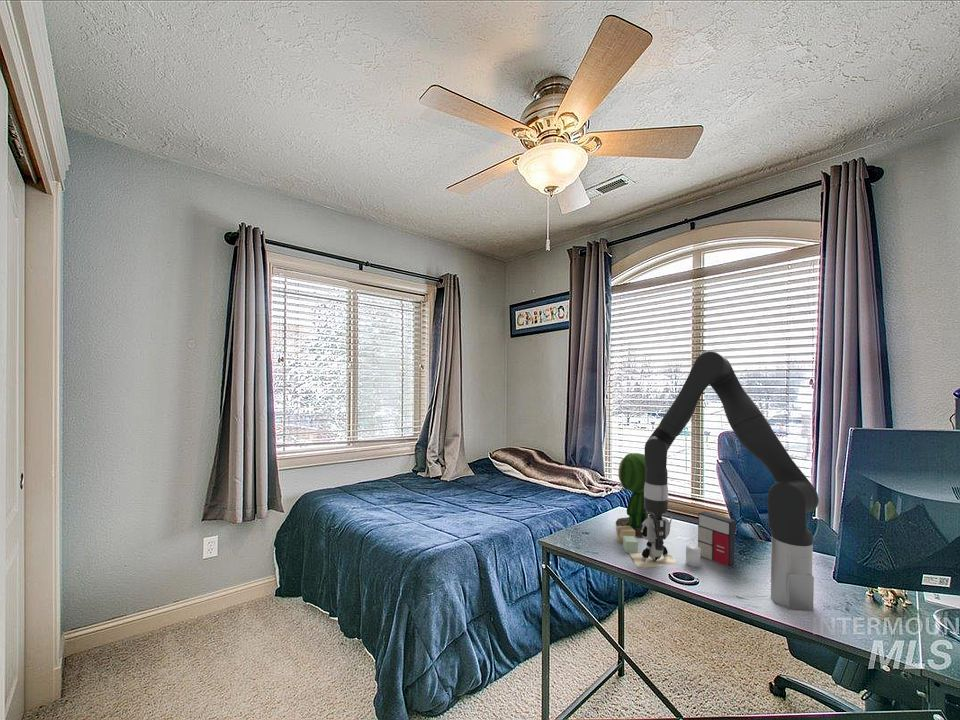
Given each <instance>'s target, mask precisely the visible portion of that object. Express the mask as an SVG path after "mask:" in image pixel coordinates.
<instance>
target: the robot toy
mask: <svg viewBox="0 0 960 720" xmlns="http://www.w3.org/2000/svg"><path fill="white" fill-rule="evenodd" d="M651 517H652V516H651ZM662 518H663V520H665V522H666V538H668V536H669V535H670V531H671V524H672V520H673V516H671V517H670V520H669V519H668V518H666V517H664V516H662ZM641 534H642V536H643V538H642V539H644V540H646V541H647V542H646V548H644V549H643V550H642V552H641V553H642V556H643V557H642V558H641V561H642V562H645V561H646V558H648V557H651V558H652V559H653V560H655V561H656V560H657V559H660V558H661V555H662V554H663V557H664V558H666V557H667V556H668V555H669V552H668V549H667V548H668V547H666V546H665V545H664V543H665V542H664V540H665V539H663V550H662V551H660V550H656V549H655V532H653V529H652V522H651V519H650V517H649V518H647V519H646V520H645V521H644V522H643V523H642V528H641ZM659 535H661V532H659Z"/></svg>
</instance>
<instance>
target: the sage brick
mask: <svg viewBox="0 0 960 720" xmlns="http://www.w3.org/2000/svg"><path fill="white" fill-rule="evenodd" d="M622 547H623V549H624V551H625V553H639V551H638V550H639V549H638V547H639V542H638V540H637V538H636V536H635V537H634V536H623V545H622Z"/></svg>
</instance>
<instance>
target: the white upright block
mask: <svg viewBox="0 0 960 720" xmlns="http://www.w3.org/2000/svg"><path fill="white" fill-rule="evenodd" d="M701 557H702V556H701V548H700V547H698V545H694V544H687V545H685V564H686V565H687V566H690V567H693V568H699V567H701V563H702V562H701V559H702V558H701Z"/></svg>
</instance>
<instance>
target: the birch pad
mask: <svg viewBox="0 0 960 720" xmlns="http://www.w3.org/2000/svg"><path fill="white" fill-rule="evenodd" d="M629 556H630V557H631V560H632V561H633V563H634V565H635V567H636V568H637V569H640V570H641V569H646V568H654V567H662V566H670V565H677V564H678V563H677V561H676V559H675V558H674V557H673V555H672V554H668V556H667V557H666V558H664V557H663V554H662V555H661V558H660V559H657V560H656V561H655V560H653V559H652V558H651V557H648V558H646V561H645V562H642V561H641V558H642V557H643V556H642V552H638V553H629Z"/></svg>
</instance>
